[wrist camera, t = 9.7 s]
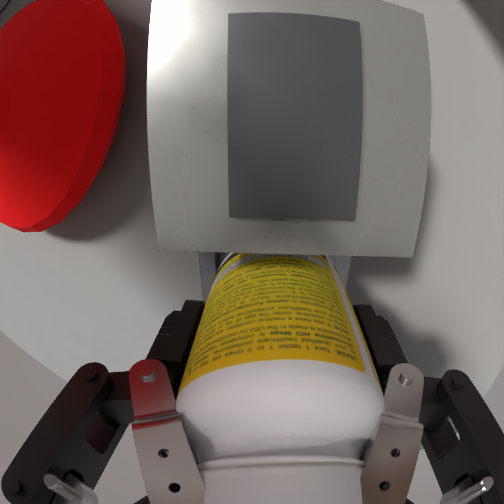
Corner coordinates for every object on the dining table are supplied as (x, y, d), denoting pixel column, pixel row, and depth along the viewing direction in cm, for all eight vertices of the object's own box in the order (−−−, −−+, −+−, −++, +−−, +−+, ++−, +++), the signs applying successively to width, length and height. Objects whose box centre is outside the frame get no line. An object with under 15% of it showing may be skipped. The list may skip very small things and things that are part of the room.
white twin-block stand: (202, 52, 11) (134, -12, 4) (359, 58, 11) (438, 4, 3) (222, 390, 21) (207, 473, 14) (317, 393, 21) (324, 476, 13)
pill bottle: (191, 285, 14) (105, 496, 4) (280, 202, 12) (307, 492, 2) (273, 350, 16) (267, 537, 6) (360, 289, 14) (436, 497, 4)
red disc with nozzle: (110, 250, 16) (46, 312, 10) (-15, 184, 15) (-71, 211, 8) (192, 6, 10) (141, -57, 4) (27, 10, 8) (-33, 0, 2)
